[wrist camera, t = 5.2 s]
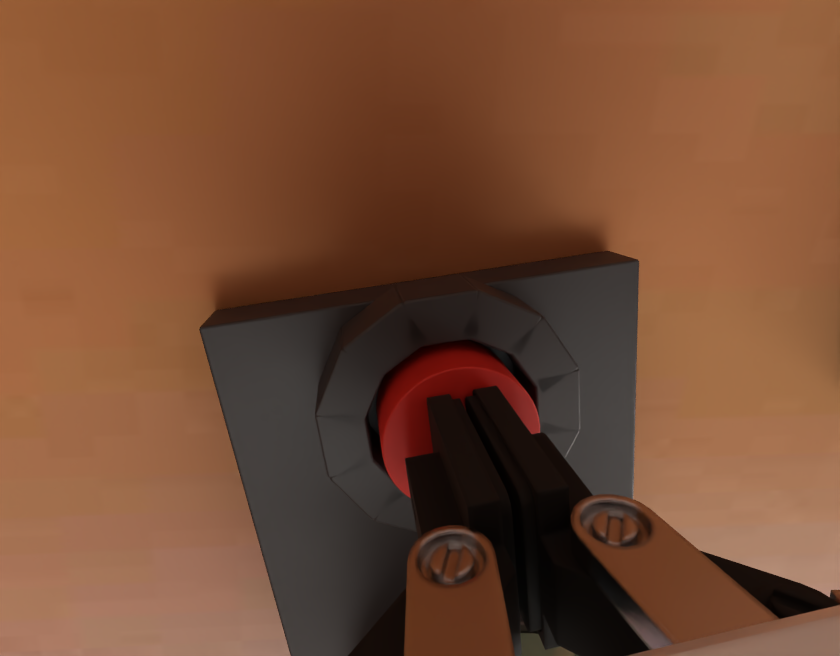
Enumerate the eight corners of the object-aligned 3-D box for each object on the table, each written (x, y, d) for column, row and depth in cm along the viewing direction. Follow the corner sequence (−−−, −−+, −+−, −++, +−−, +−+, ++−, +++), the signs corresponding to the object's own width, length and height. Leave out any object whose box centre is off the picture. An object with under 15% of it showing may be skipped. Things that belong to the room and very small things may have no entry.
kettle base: (211, 298, 14) (170, 337, 11) (609, 238, 15) (682, 257, 12) (327, 733, 20) (324, 846, 16) (607, 665, 21) (656, 757, 18)
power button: (365, 350, 13) (370, 382, 11) (508, 326, 13) (537, 354, 11) (386, 475, 14) (393, 525, 12) (516, 450, 14) (543, 494, 12)
